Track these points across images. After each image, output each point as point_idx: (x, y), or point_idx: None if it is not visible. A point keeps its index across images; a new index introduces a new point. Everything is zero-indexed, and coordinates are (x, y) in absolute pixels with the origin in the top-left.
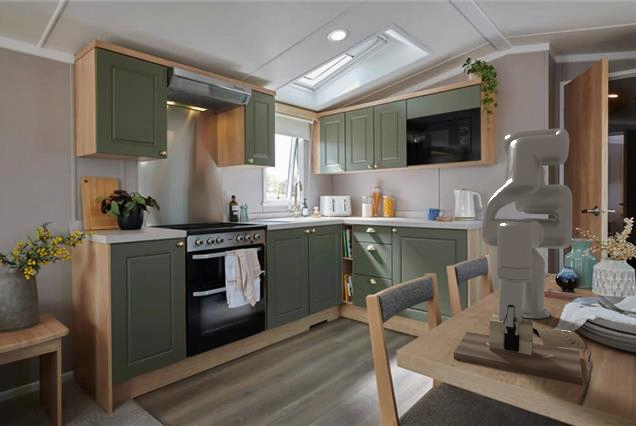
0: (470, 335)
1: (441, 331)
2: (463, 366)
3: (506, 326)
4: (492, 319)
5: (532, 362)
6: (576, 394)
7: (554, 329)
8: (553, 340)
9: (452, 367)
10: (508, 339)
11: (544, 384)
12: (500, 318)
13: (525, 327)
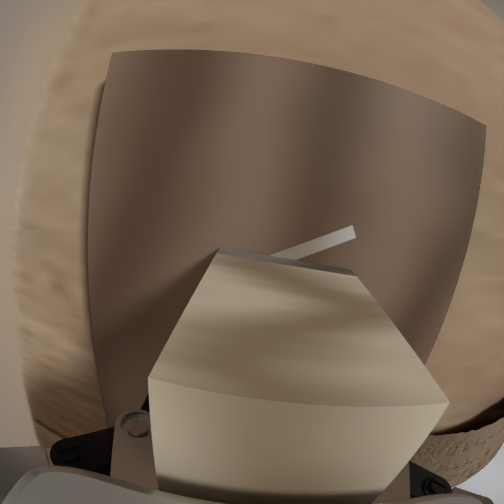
0: (443, 137)
1: (478, 21)
2: (59, 125)
3: (60, 458)
4: (205, 412)
5: None
6: (71, 435)
7: (491, 449)
8: (431, 456)
9: (42, 88)
10: (148, 400)
11: (70, 393)
12: (20, 478)
13: None
